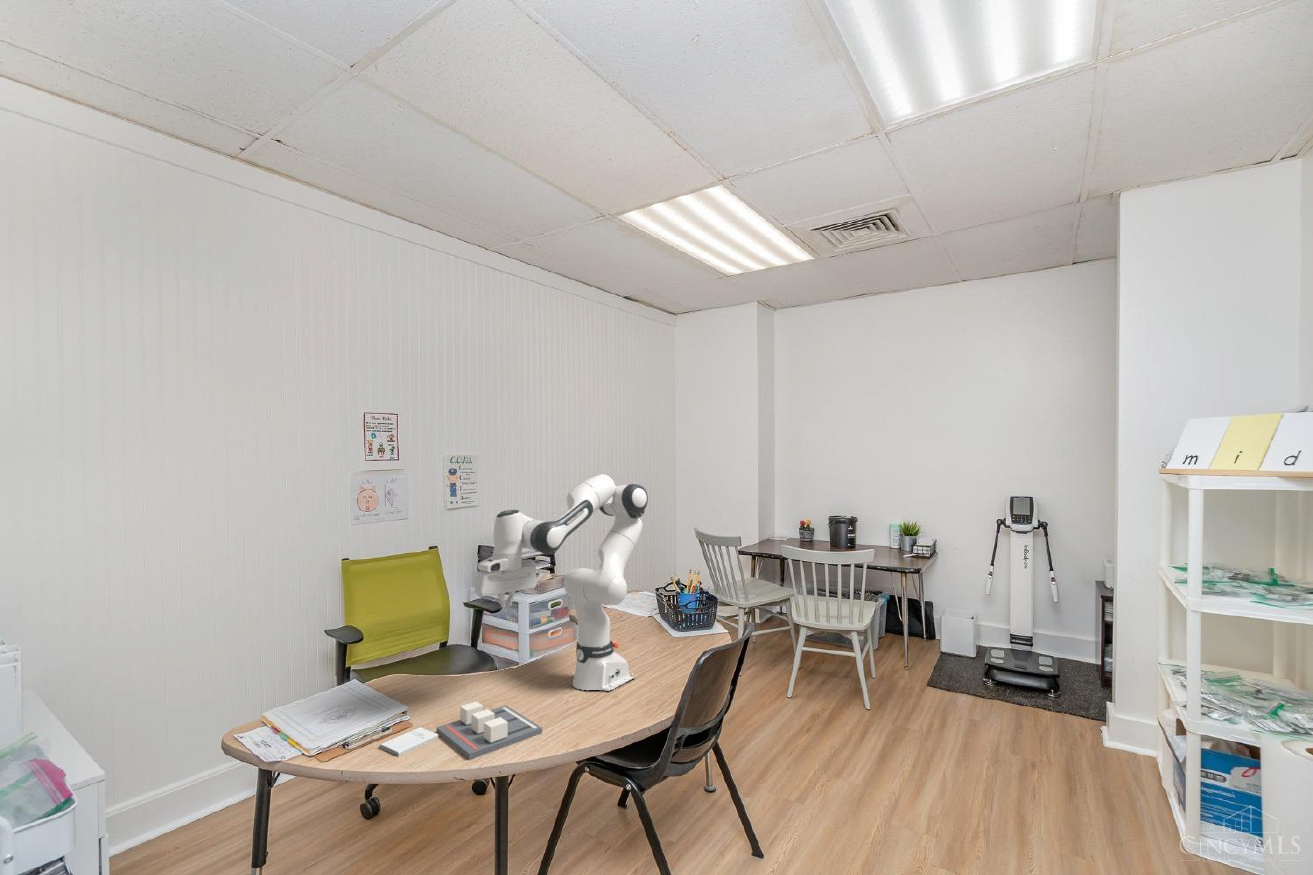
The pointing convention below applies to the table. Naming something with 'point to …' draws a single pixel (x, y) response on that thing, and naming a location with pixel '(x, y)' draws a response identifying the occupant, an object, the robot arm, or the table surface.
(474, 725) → the block
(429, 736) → the external hard drive
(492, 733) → the block
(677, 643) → the table surface
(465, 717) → the block
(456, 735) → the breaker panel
